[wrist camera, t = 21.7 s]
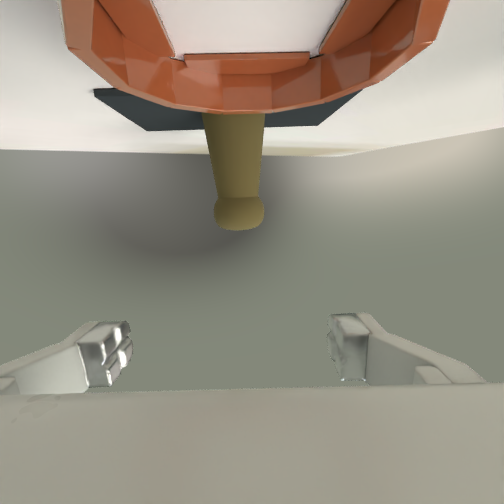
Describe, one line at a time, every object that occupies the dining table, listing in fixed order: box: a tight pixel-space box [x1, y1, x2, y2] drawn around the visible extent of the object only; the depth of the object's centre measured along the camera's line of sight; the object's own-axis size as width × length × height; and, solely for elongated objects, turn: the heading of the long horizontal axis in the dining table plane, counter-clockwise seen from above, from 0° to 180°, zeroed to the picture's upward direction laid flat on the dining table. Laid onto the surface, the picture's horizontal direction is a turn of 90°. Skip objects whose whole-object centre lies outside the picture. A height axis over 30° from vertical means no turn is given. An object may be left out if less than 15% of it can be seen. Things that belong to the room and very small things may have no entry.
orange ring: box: [57, 0, 450, 115], centre depth 11 cm, size 14×14×2 cm
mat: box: [94, 89, 363, 131], centre depth 24 cm, size 20×11×1 cm, turn 87°
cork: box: [202, 112, 265, 230], centre depth 25 cm, size 6×6×11 cm
